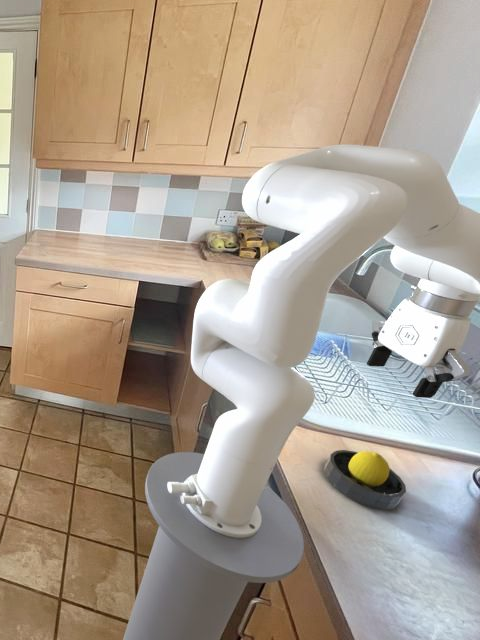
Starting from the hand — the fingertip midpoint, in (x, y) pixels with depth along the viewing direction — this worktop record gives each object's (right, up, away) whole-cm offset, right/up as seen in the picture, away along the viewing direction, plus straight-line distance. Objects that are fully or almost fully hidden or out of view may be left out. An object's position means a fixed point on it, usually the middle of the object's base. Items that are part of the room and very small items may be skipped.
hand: (397, 380), depth 81 cm
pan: (-5, -21, +2) cm, 22 cm away
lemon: (-5, -21, +2) cm, 22 cm away
